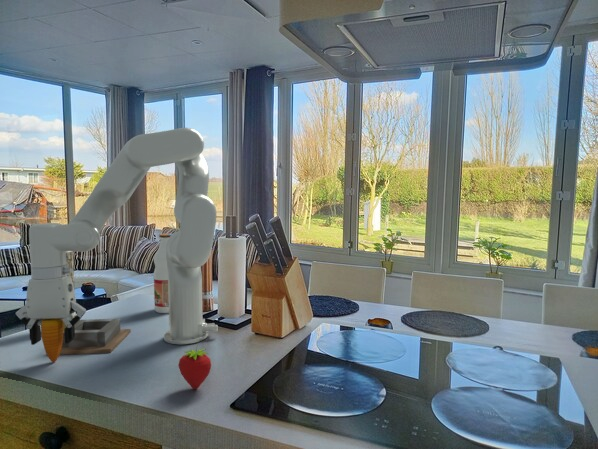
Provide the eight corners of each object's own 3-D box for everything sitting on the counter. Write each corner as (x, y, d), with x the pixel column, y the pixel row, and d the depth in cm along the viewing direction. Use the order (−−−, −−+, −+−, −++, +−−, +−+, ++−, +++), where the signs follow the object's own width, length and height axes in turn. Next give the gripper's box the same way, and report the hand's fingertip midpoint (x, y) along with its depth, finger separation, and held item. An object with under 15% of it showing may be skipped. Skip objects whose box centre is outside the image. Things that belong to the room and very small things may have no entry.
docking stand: (130, 332, 123) (130, 316, 122) (110, 352, 107) (109, 334, 106) (76, 333, 121) (75, 317, 121) (47, 354, 105) (47, 336, 105)
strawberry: (190, 379, 91) (189, 336, 91) (217, 385, 88) (217, 341, 88) (172, 391, 86) (171, 346, 85) (200, 398, 83) (199, 351, 82)
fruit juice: (175, 314, 141) (173, 235, 139) (150, 313, 142) (147, 235, 140) (185, 306, 150) (183, 232, 148) (161, 306, 151) (159, 232, 149)
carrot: (39, 367, 98) (36, 307, 97) (45, 359, 102) (42, 302, 101) (62, 365, 99) (59, 306, 98) (67, 357, 104) (64, 300, 103)
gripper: (92, 269, 103) (95, 335, 105) (21, 270, 102) (25, 338, 103) (79, 275, 96) (82, 346, 97) (2, 276, 95) (6, 349, 96)
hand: (52, 341), depth 100 cm, fingers open, 7 cm apart
